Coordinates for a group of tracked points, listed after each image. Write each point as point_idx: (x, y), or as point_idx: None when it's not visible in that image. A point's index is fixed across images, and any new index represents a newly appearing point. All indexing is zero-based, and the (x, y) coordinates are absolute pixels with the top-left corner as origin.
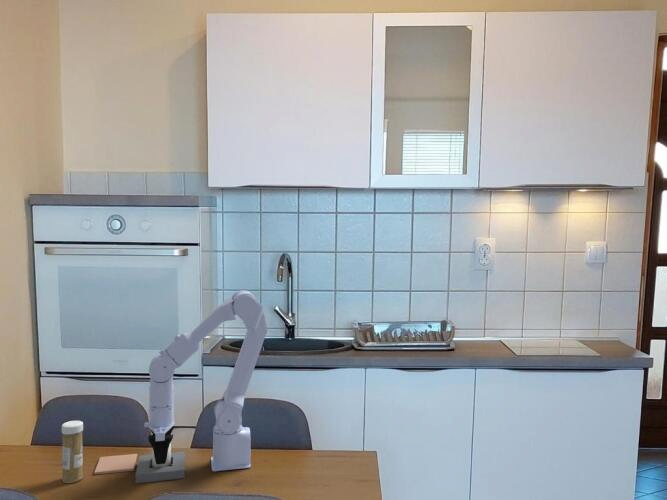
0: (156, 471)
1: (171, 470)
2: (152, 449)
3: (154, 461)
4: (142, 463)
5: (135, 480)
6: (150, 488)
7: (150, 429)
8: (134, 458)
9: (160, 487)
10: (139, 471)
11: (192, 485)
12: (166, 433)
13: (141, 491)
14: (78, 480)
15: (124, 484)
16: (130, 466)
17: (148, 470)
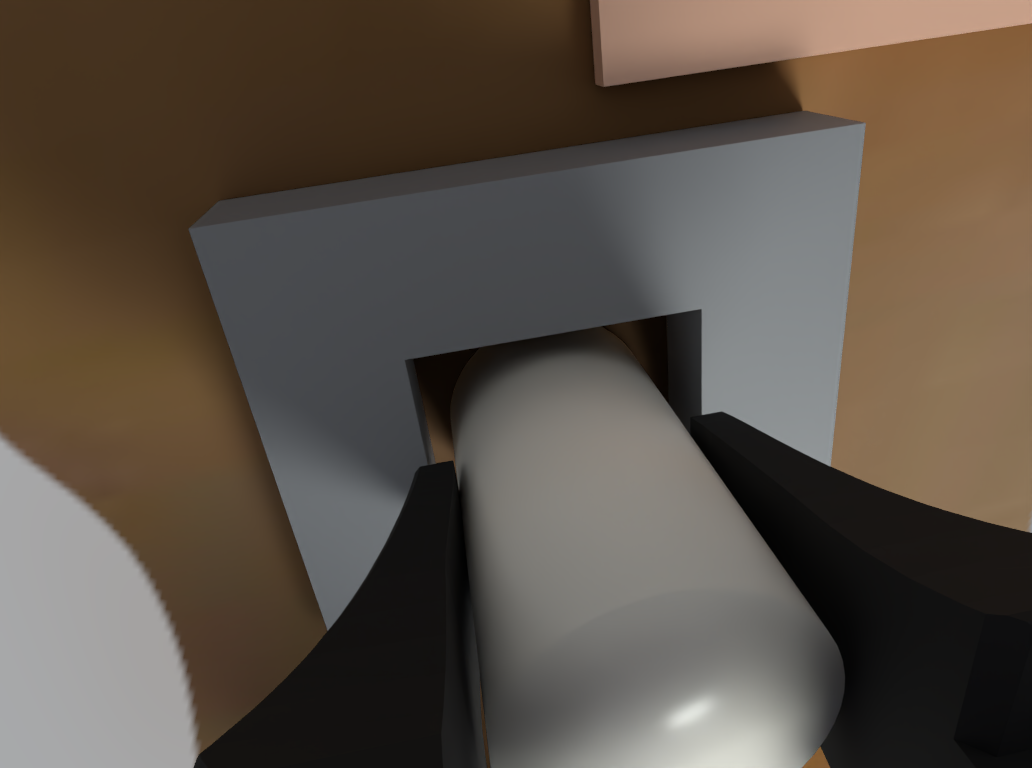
0: (307, 467)
1: (335, 605)
2: (553, 496)
3: (484, 435)
4: (578, 232)
5: (210, 209)
6: (103, 404)
7: (1009, 622)
8: (938, 8)
9: (141, 492)
10: (304, 258)
11: (213, 717)
12: (859, 766)
13: (9, 328)
14: None
15: (176, 53)
16: (676, 15)
17: (339, 368)
